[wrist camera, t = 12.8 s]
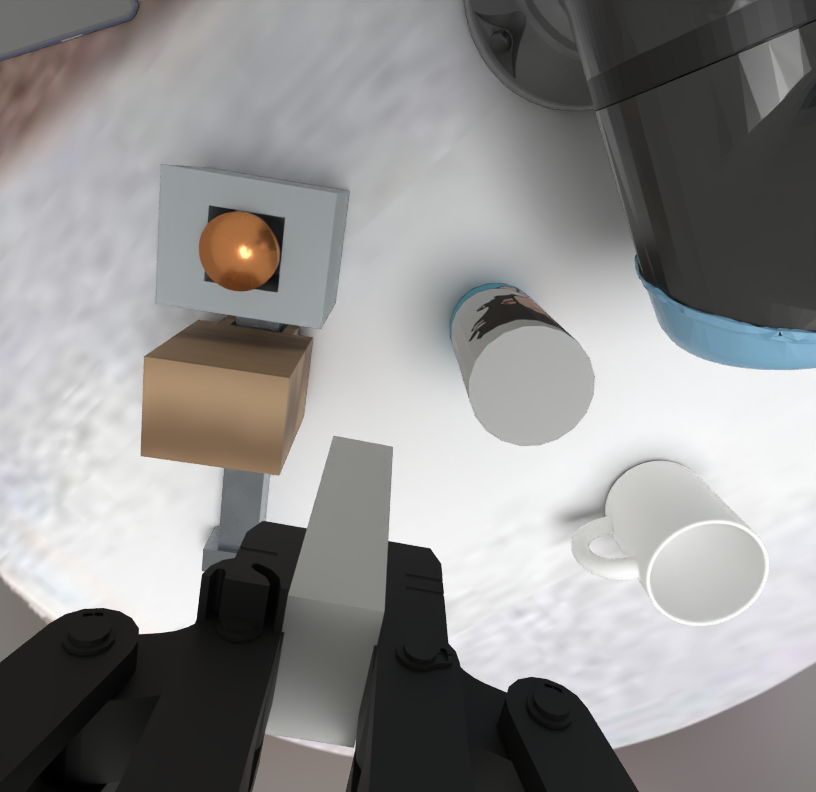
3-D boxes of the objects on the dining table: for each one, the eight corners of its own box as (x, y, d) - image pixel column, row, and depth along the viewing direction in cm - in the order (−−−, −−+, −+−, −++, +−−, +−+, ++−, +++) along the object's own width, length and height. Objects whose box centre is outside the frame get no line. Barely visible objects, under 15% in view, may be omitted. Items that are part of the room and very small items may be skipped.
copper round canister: (232, 202, 43) (201, 206, 36) (299, 213, 43) (280, 219, 36) (227, 269, 44) (196, 285, 37) (292, 279, 44) (273, 296, 38)
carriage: (210, 311, 48) (144, 356, 36) (318, 328, 49) (289, 378, 36) (205, 388, 50) (140, 455, 38) (309, 404, 50) (279, 475, 38)
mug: (562, 561, 55) (596, 642, 46) (552, 473, 53) (585, 539, 43) (704, 539, 55) (770, 617, 45) (701, 449, 52) (770, 511, 43)
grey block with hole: (206, 167, 45) (161, 164, 37) (349, 191, 46) (337, 193, 37) (199, 281, 48) (155, 303, 39) (335, 303, 48) (320, 329, 40)
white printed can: (512, 384, 50) (555, 464, 36) (434, 348, 50) (446, 416, 35) (555, 306, 49) (618, 358, 34) (474, 267, 48) (505, 304, 33)
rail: (233, 287, 48) (221, 295, 45) (301, 297, 48) (294, 306, 45) (214, 547, 55) (201, 570, 51) (273, 555, 55) (265, 579, 52)
